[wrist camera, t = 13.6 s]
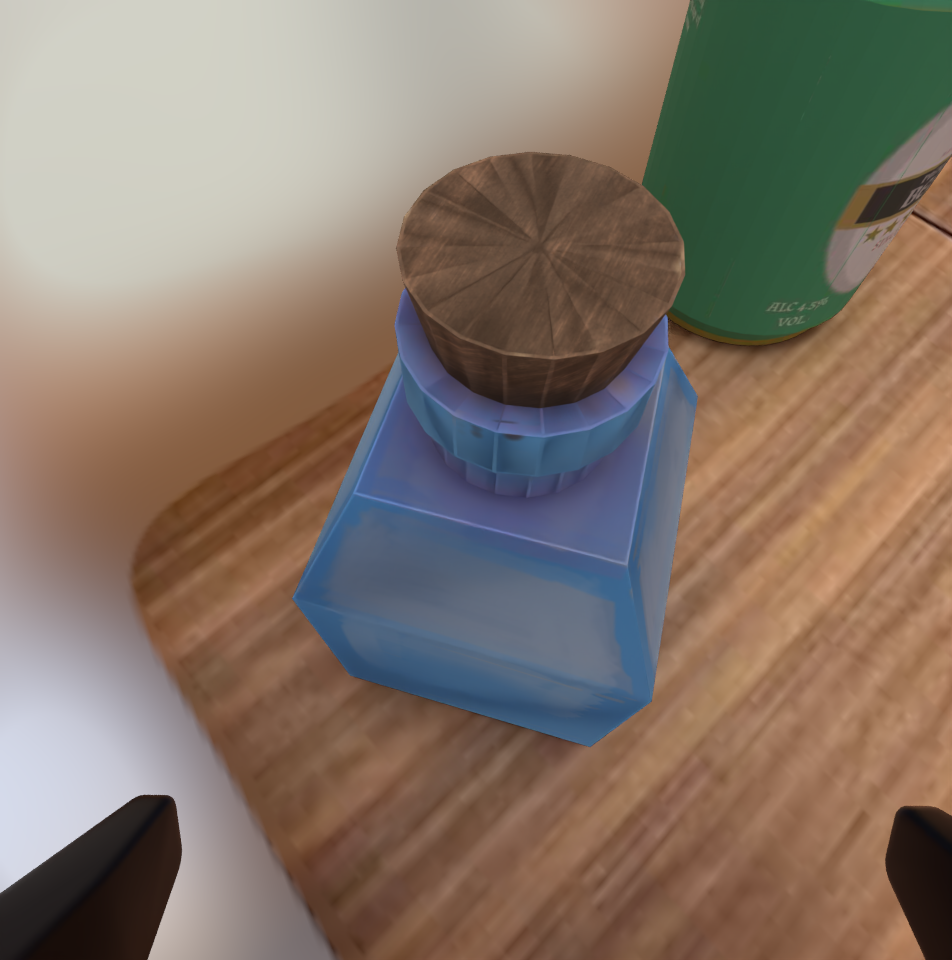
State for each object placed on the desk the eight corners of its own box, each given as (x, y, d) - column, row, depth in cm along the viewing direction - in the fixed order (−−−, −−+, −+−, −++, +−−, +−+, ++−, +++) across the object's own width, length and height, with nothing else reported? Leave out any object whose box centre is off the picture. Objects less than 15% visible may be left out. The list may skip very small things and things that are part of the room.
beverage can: (760, 396, 22) (1036, -22, 11) (578, 267, 24) (661, -167, 14) (884, 273, 24) (1201, -158, 14) (708, 170, 27) (861, -257, 17)
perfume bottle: (425, 470, 20) (372, 44, 9) (632, 523, 19) (838, 125, 8) (350, 675, 17) (144, 404, 6) (589, 746, 16) (820, 575, 5)
